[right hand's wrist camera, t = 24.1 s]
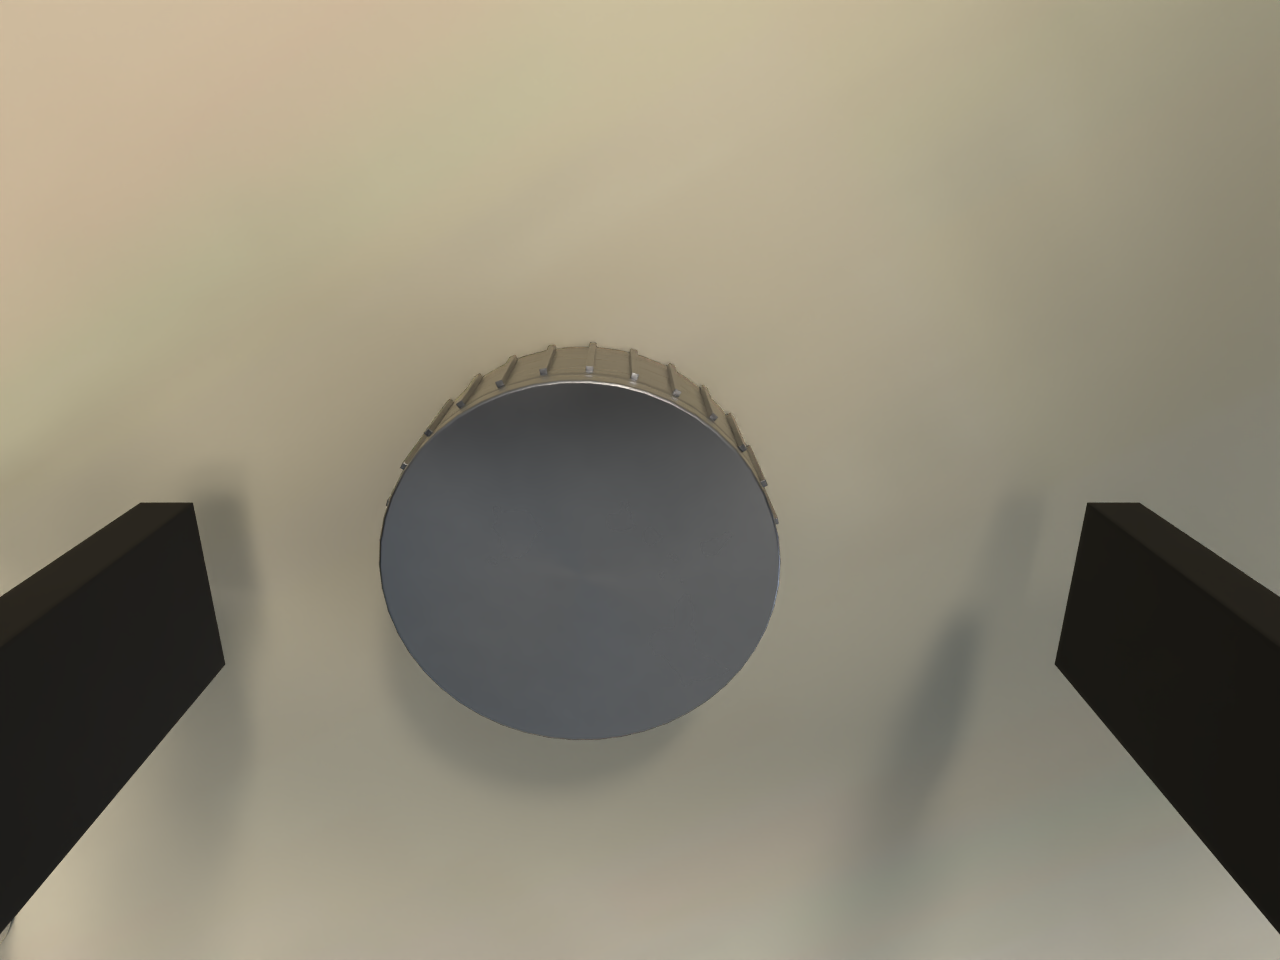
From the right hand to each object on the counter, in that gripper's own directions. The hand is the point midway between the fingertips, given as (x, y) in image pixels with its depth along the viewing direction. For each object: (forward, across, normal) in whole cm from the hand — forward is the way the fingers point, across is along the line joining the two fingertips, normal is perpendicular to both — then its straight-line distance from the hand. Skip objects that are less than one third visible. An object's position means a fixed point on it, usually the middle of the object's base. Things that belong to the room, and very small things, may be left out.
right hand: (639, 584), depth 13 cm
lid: (0, +1, 0) cm, 1 cm away
